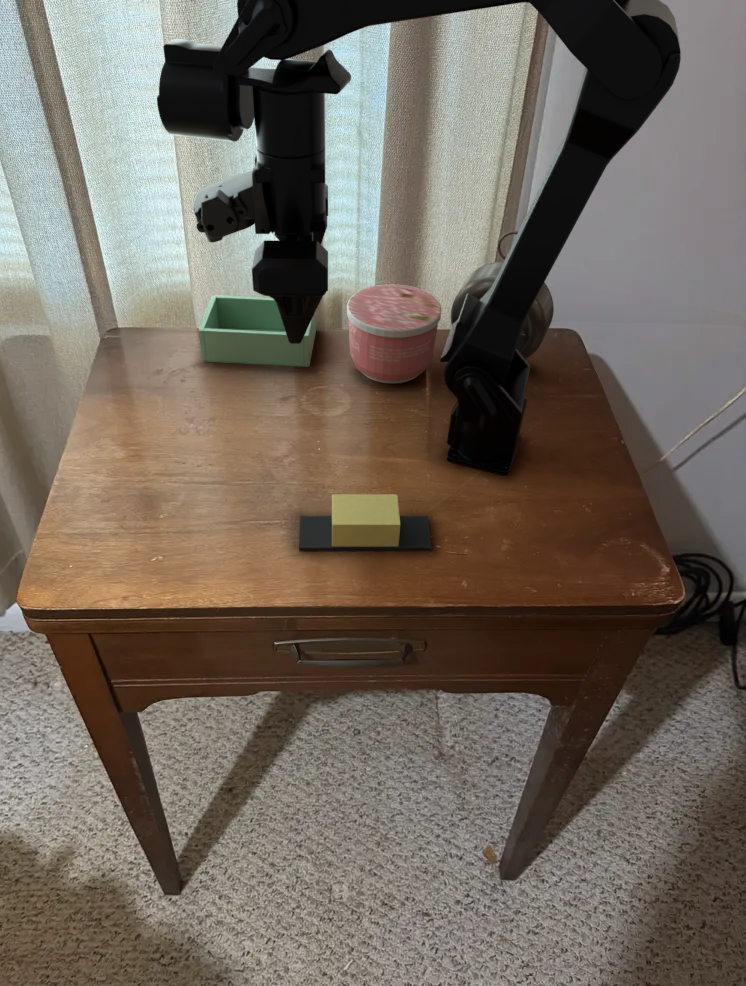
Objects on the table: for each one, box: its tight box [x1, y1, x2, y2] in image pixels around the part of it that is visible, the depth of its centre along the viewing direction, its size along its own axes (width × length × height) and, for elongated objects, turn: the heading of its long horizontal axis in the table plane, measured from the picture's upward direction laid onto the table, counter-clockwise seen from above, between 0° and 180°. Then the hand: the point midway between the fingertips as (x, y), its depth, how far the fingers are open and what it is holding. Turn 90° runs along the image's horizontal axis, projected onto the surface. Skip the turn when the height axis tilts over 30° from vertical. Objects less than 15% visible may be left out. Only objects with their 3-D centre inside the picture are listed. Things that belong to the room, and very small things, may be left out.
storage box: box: [197, 294, 317, 368], centre depth 90 cm, size 13×8×4 cm, turn 86°
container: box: [346, 283, 442, 384], centre depth 86 cm, size 10×10×8 cm
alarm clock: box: [450, 230, 555, 370], centre depth 84 cm, size 11×5×16 cm, turn 66°
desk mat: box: [298, 515, 433, 552], centre depth 70 cm, size 12×4×1 cm, turn 91°
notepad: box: [331, 493, 401, 547], centre depth 69 cm, size 4×6×3 cm, turn 91°
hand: (296, 317), depth 74 cm, fingers open, 9 cm apart
